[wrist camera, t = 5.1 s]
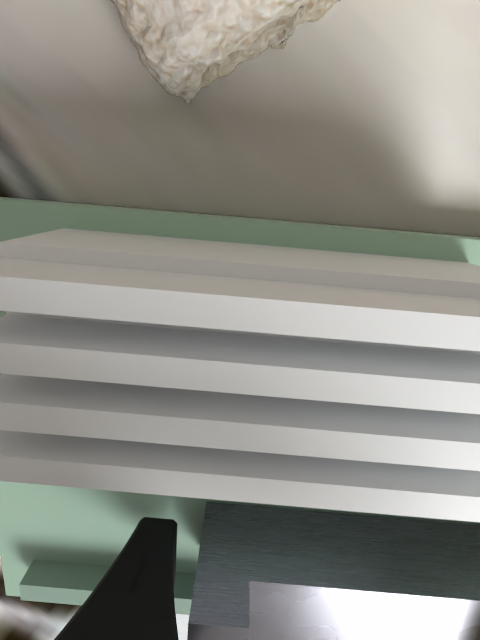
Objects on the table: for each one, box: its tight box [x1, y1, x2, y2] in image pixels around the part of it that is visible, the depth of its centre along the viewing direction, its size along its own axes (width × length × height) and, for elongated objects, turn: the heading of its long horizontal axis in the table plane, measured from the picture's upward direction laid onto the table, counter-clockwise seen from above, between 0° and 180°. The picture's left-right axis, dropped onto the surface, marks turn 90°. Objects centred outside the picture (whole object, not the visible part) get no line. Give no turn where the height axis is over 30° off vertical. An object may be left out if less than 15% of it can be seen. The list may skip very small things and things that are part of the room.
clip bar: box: [188, 502, 480, 640], centre depth 10 cm, size 9×2×3 cm, turn 86°
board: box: [0, 197, 480, 615], centre depth 9 cm, size 16×12×4 cm
